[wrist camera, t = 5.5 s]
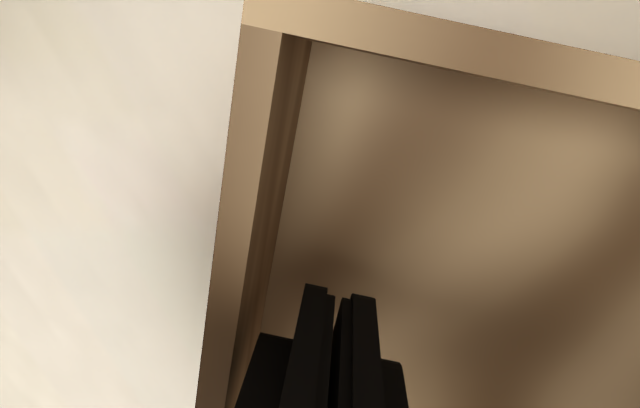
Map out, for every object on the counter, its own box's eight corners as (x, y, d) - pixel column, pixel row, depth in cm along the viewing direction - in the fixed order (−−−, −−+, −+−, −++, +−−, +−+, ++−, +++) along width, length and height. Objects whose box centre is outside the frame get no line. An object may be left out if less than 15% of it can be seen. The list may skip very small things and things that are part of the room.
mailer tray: (1031, 169, 10) (1614, 270, 6) (725, 525, 15) (893, 739, 11) (295, 11, 10) (246, -23, 6) (229, 417, 15) (174, 581, 11)
